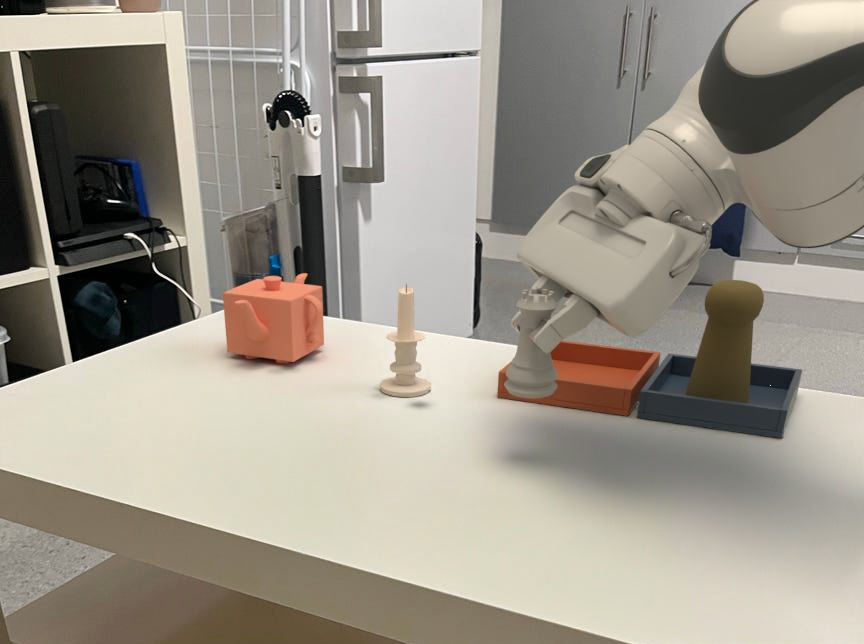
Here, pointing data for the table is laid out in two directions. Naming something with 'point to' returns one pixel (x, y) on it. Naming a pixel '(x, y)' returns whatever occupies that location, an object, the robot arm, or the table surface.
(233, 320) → the teapot
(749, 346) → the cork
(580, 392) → the terracotta tray
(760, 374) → the slate tray
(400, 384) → the candle
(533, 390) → the rook chess piece
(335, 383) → the table surface
